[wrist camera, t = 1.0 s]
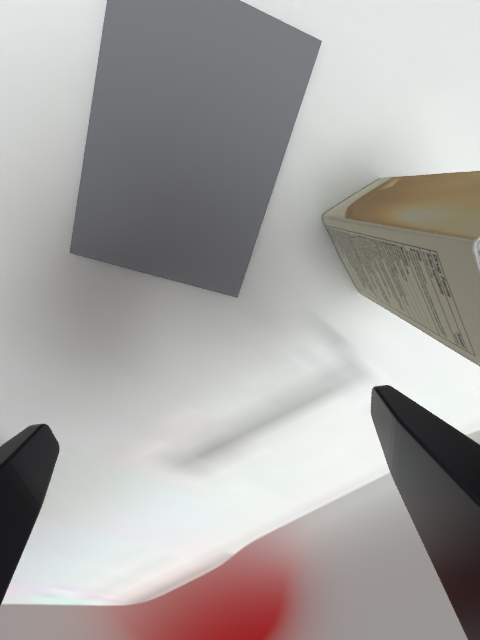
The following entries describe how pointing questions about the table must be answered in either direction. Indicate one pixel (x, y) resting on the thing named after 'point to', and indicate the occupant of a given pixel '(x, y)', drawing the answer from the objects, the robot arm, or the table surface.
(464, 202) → the skincare box
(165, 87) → the mat
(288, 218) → the table surface
